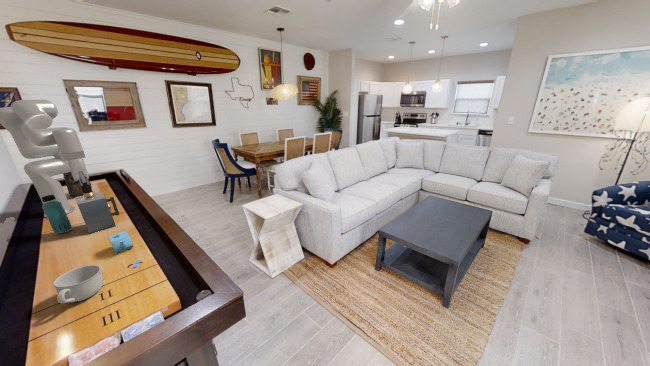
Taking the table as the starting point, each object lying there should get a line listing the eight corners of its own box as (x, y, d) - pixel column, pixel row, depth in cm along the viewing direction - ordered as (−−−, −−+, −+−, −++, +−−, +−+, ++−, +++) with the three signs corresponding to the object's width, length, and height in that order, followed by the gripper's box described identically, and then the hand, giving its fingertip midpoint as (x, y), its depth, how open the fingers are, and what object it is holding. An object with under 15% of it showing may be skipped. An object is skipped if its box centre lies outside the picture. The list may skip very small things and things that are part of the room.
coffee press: (87, 227, 121) (74, 197, 116) (119, 218, 131) (109, 189, 125) (89, 234, 115) (76, 202, 110) (123, 223, 125) (113, 194, 119)
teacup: (83, 283, 83) (74, 264, 81) (115, 280, 84) (108, 262, 82) (42, 317, 70) (30, 296, 68) (81, 314, 71) (70, 293, 68)
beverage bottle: (61, 237, 113) (43, 199, 107) (51, 235, 115) (33, 198, 108) (77, 230, 119) (61, 193, 113) (67, 229, 121) (51, 192, 114)
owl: (94, 190, 174) (84, 164, 167) (94, 195, 166) (84, 167, 159) (69, 195, 166) (58, 168, 159) (69, 200, 157) (56, 172, 151)
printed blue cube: (135, 252, 101) (130, 236, 98) (117, 259, 96) (111, 243, 94) (129, 241, 108) (124, 227, 106) (112, 247, 104) (107, 233, 101)
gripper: (61, 155, 111) (75, 191, 117) (63, 159, 102) (79, 198, 108) (82, 152, 117) (96, 187, 123) (86, 156, 107) (100, 193, 113)
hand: (88, 192), depth 115 cm, fingers closed
